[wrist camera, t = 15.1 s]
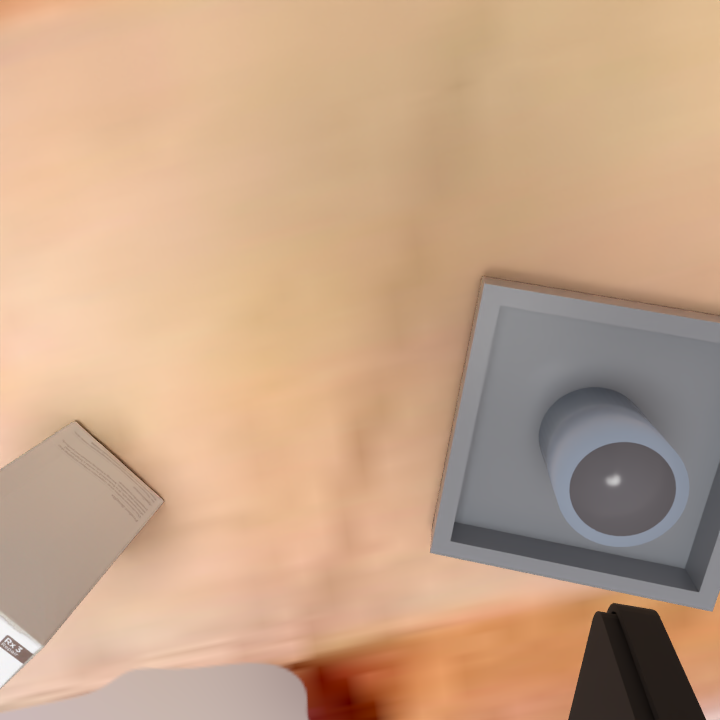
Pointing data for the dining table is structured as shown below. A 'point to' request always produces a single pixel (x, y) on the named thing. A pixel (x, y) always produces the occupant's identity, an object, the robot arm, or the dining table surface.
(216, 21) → the dining table surface
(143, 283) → the dining table surface
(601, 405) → the cup
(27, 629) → the skincare box
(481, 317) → the tray
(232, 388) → the dining table surface
